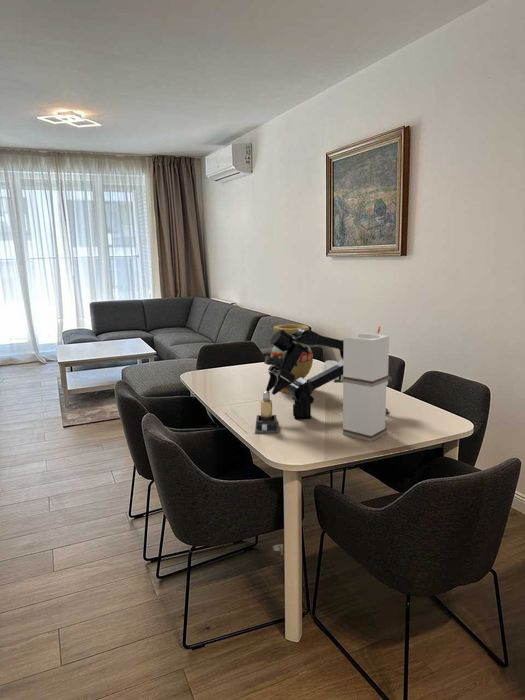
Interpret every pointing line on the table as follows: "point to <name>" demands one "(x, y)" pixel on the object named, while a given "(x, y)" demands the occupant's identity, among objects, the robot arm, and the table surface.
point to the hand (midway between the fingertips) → (269, 392)
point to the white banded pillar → (365, 386)
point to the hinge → (328, 365)
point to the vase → (303, 361)
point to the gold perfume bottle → (266, 407)
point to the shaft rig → (266, 425)
